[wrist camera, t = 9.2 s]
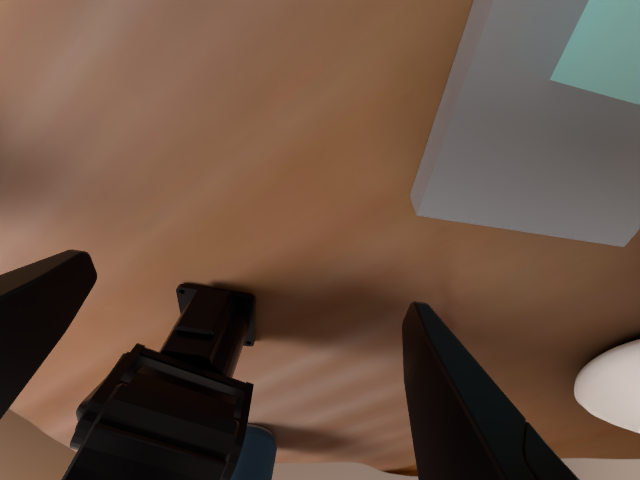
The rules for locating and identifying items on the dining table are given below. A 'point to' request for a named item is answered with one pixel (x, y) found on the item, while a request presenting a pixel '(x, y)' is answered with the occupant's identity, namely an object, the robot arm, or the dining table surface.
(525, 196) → the slate board
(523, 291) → the dining table surface
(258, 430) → the soda can
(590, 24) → the teal cube
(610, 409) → the flower in vase
